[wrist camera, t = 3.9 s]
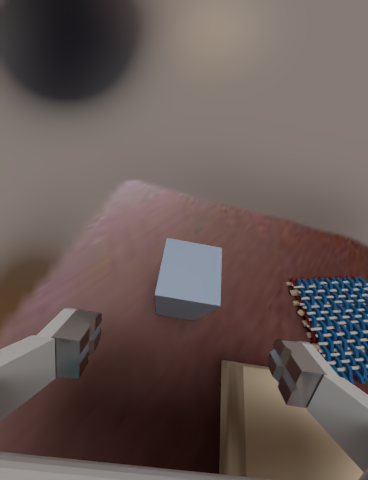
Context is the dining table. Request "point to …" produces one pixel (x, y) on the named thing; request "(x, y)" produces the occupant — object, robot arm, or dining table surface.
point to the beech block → (273, 432)
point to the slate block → (188, 280)
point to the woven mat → (336, 321)
